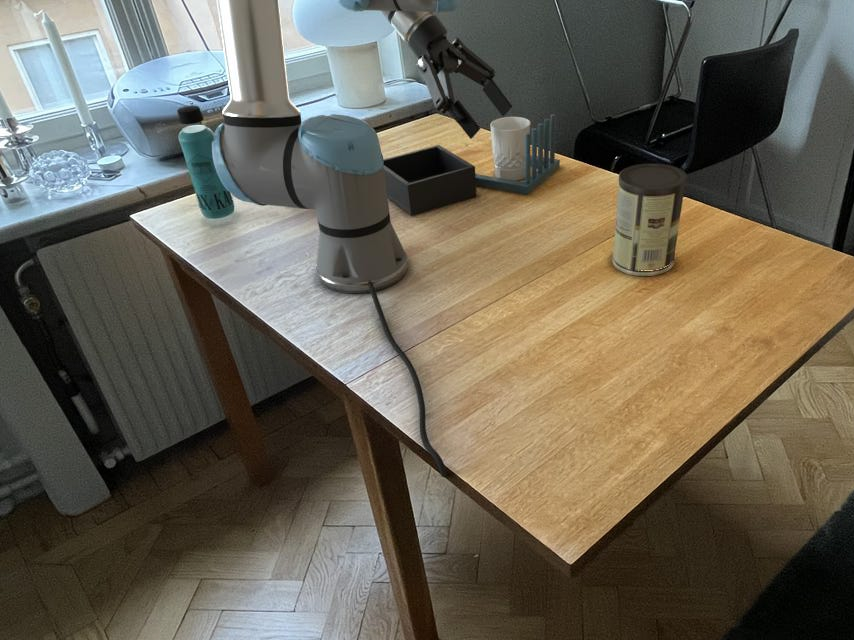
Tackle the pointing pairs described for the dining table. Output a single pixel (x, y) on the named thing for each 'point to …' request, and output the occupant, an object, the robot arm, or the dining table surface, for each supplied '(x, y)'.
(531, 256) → the dining table surface
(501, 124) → the white cup
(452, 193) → the black square tray
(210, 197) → the beverage bottle
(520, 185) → the drying rack
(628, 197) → the coffee can
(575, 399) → the dining table surface
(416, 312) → the dining table surface
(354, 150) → the robot arm
